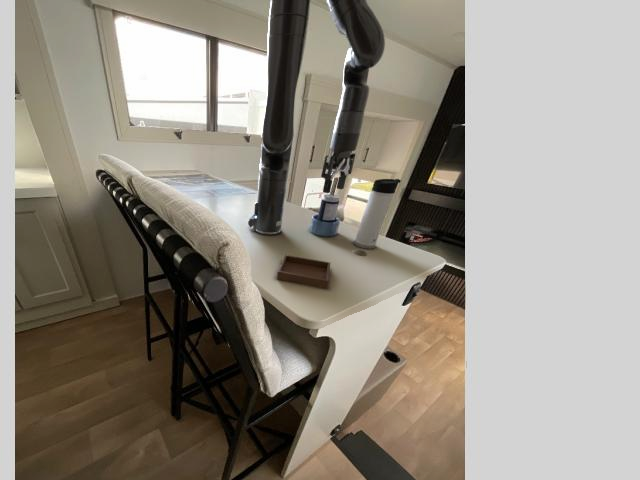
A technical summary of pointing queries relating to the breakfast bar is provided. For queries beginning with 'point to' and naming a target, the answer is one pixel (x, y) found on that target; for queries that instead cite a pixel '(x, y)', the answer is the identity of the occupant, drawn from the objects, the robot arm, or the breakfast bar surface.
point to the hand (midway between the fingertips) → (333, 190)
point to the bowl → (324, 227)
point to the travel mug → (375, 212)
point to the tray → (304, 271)
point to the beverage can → (328, 208)
